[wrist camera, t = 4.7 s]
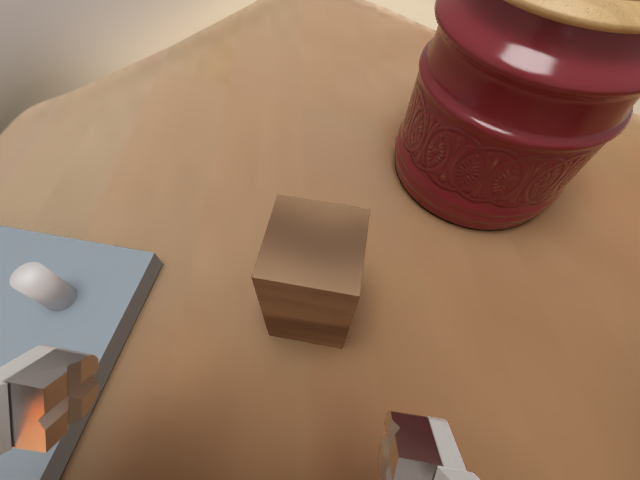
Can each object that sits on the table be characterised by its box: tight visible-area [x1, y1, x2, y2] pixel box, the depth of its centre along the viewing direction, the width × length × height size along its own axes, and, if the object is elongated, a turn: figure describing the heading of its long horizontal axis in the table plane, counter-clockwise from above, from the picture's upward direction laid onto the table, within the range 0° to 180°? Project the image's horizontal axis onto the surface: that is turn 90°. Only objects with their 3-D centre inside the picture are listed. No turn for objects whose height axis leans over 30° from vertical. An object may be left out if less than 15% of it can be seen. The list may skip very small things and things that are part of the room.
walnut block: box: [252, 194, 370, 349], centre depth 19 cm, size 4×4×8 cm
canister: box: [395, 0, 640, 230], centre depth 21 cm, size 13×13×18 cm
